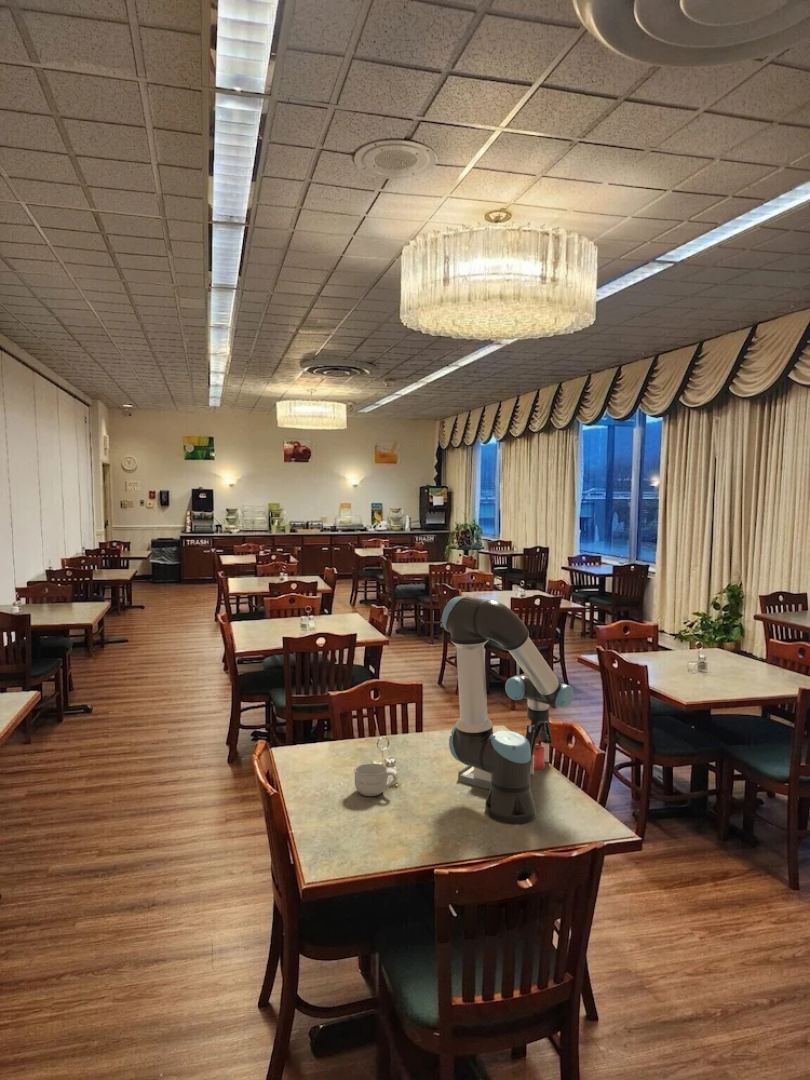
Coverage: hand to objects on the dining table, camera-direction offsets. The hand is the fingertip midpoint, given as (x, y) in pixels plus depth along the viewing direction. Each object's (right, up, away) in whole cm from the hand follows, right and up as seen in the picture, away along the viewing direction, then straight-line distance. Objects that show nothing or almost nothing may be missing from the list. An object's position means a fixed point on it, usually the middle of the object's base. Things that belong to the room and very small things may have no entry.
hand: (537, 767), depth 231 cm
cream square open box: (-18, +1, -12) cm, 22 cm away
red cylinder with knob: (0, 0, 0) cm, 0 cm away
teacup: (-57, -2, -20) cm, 60 cm away
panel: (-15, 0, -4) cm, 16 cm away
